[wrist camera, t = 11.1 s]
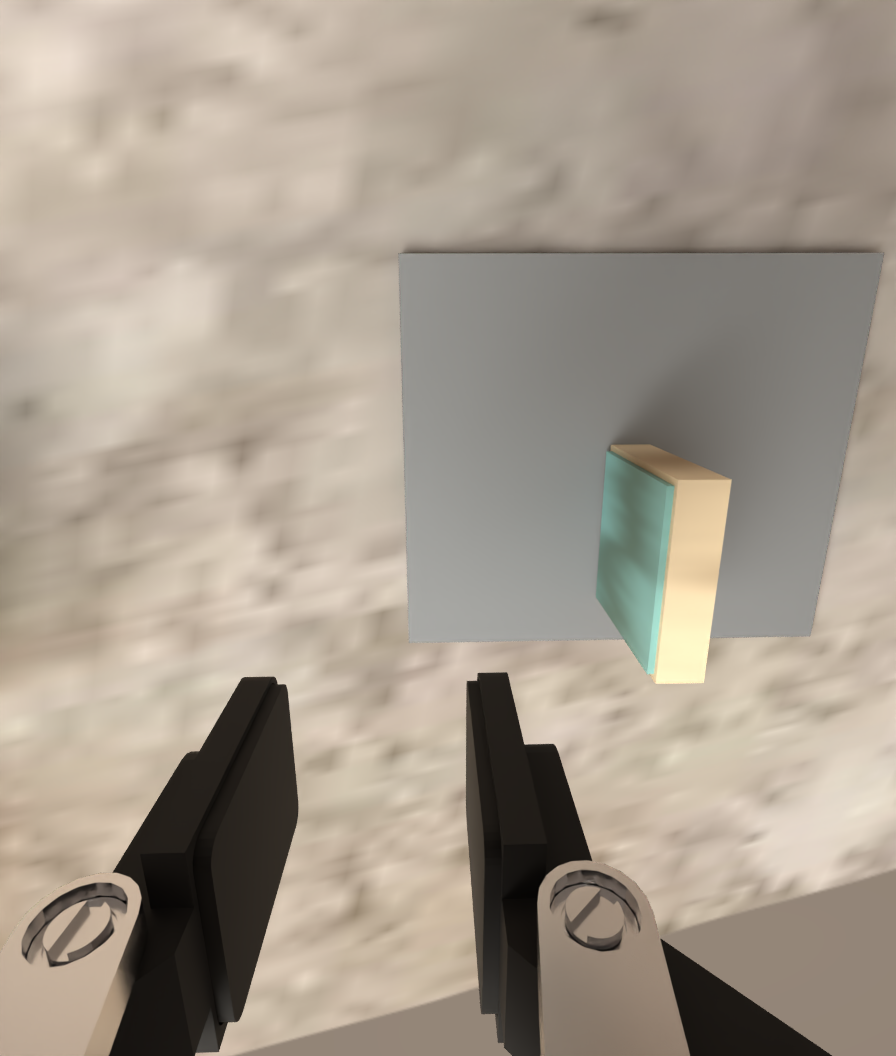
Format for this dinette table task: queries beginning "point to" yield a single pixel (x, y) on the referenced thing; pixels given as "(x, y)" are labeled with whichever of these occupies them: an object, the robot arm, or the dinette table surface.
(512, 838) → the robot arm
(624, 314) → the mat
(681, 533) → the tile
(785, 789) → the dinette table surface
